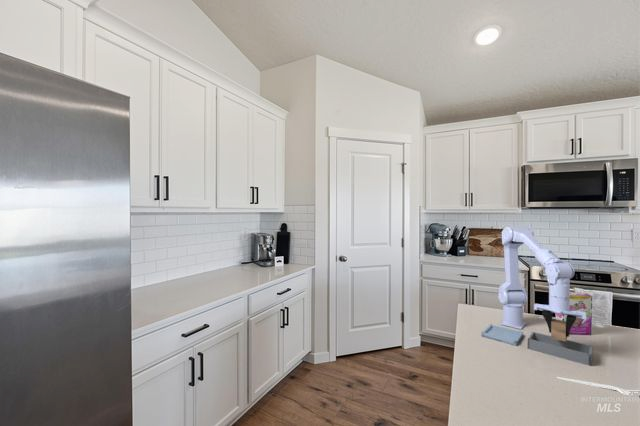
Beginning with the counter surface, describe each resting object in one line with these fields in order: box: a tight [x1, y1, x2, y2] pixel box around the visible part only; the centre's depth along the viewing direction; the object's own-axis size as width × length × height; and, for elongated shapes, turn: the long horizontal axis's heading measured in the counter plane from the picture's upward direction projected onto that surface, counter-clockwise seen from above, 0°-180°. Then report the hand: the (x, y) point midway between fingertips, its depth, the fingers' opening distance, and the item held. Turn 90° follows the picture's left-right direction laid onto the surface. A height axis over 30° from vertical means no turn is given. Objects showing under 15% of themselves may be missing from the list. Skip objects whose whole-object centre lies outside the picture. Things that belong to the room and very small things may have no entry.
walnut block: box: [550, 318, 568, 342], centre depth 105 cm, size 4×4×6 cm
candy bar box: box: [554, 291, 593, 336], centre depth 122 cm, size 11×5×16 cm, turn 84°
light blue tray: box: [481, 324, 524, 347], centre depth 118 cm, size 12×12×2 cm
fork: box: [556, 376, 640, 396], centre depth 84 cm, size 3×20×2 cm, turn 62°
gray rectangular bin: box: [527, 331, 594, 367], centre depth 105 cm, size 9×17×4 cm, turn 45°
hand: (559, 333), depth 105 cm, fingers closed on walnut block, 4 cm apart
